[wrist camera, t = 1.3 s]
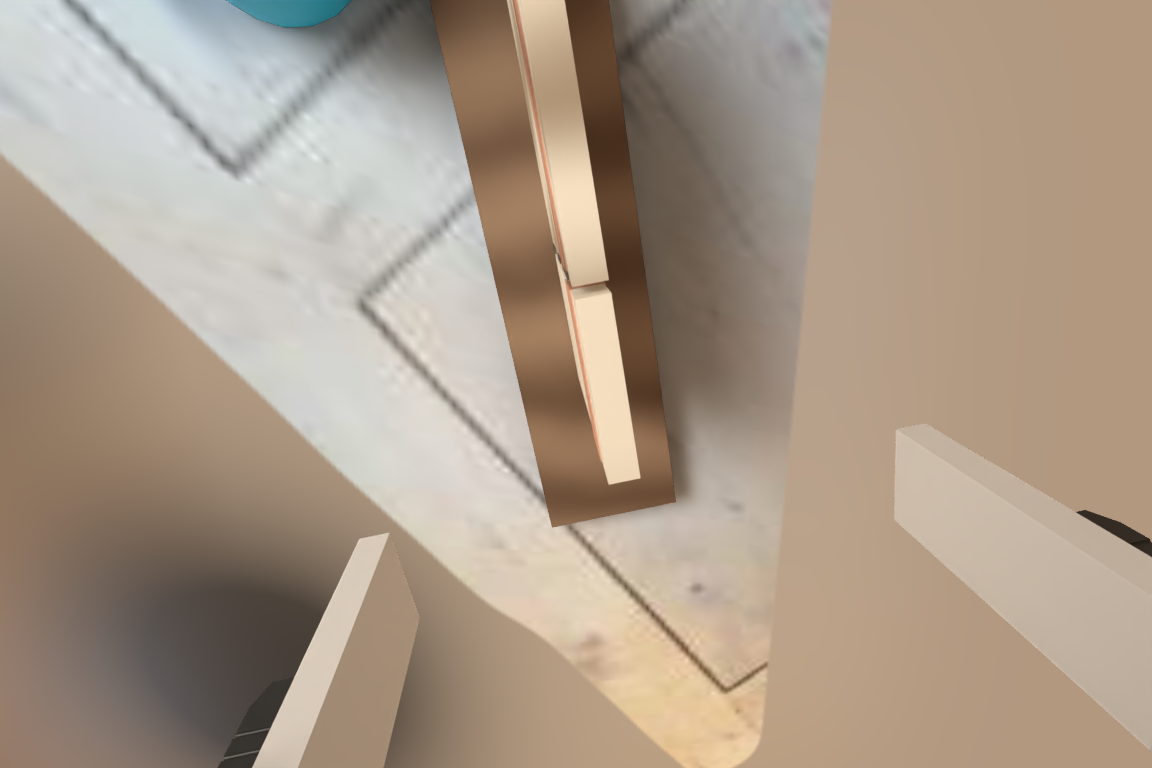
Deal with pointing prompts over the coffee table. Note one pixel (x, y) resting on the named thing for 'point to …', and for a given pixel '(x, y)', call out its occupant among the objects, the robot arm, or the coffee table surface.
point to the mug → (291, 11)
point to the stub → (601, 375)
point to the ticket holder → (558, 226)
